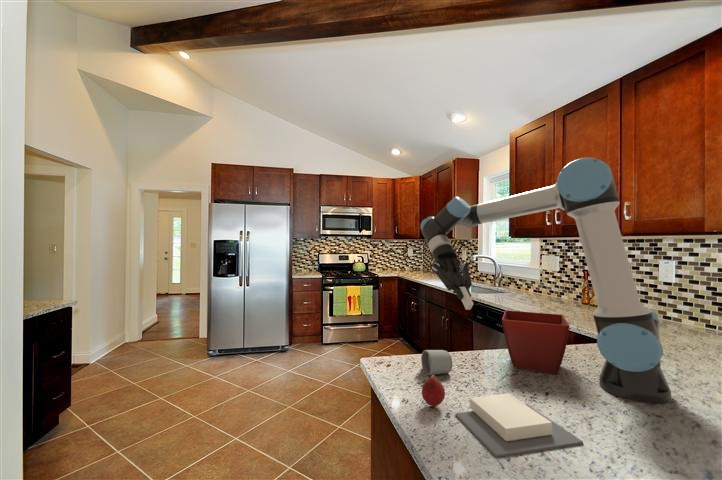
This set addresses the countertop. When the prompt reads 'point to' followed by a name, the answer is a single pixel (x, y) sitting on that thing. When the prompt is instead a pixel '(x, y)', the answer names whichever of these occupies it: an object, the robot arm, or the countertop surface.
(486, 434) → the mat
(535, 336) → the plant pot
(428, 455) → the countertop surface
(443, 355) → the ceramic mug
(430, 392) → the onion
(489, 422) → the tile
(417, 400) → the countertop surface
